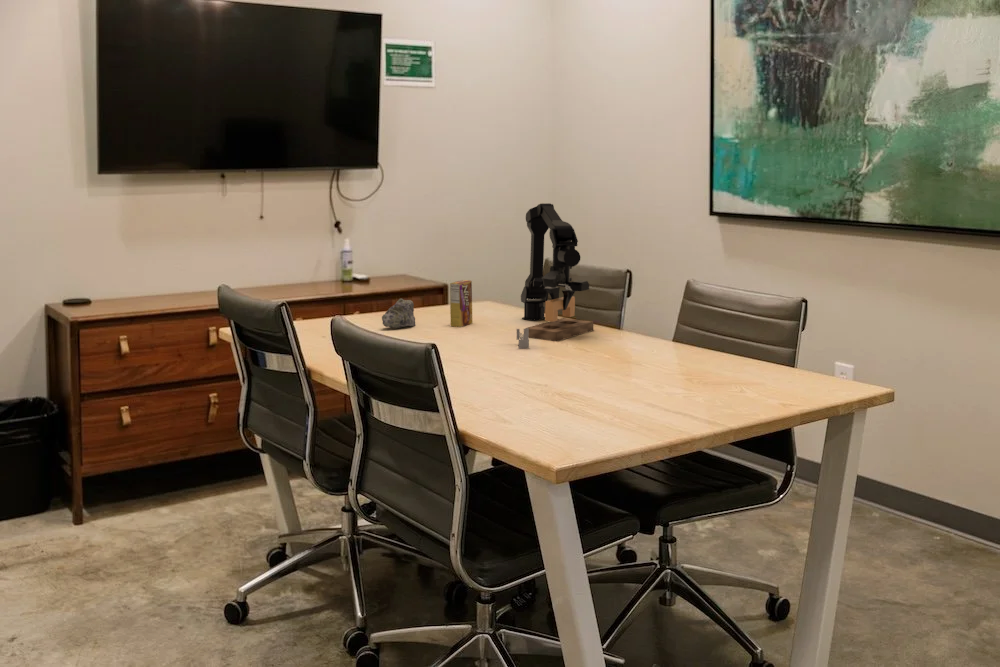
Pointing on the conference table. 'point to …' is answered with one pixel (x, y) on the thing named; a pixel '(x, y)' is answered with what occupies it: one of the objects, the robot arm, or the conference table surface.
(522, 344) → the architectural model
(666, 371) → the conference table surface
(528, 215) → the robot arm
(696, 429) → the conference table surface
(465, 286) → the candy box
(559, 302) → the orange brown flat block
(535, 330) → the wooden board with recesses
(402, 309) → the mineral rock
